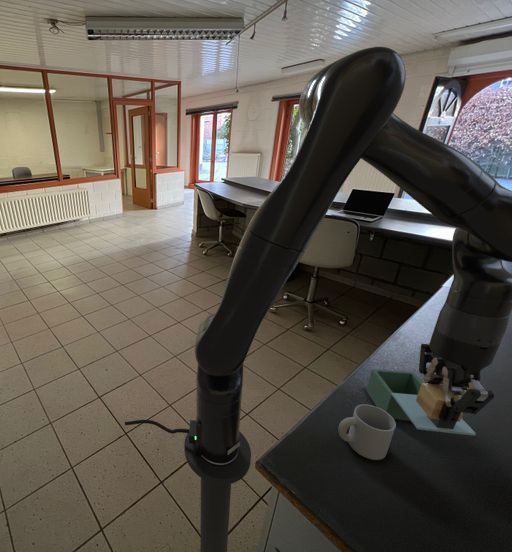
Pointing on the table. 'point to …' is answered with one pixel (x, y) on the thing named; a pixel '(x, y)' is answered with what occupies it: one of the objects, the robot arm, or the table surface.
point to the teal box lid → (424, 421)
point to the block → (433, 399)
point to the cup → (368, 431)
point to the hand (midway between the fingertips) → (437, 409)
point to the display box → (392, 390)
